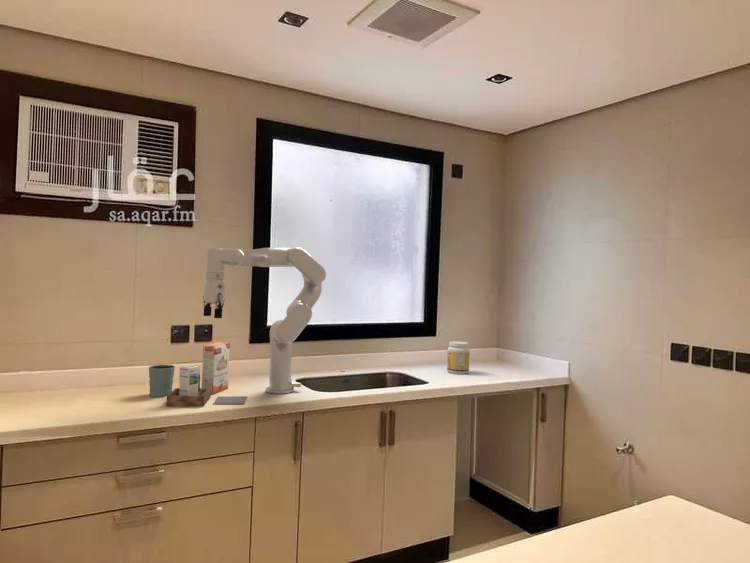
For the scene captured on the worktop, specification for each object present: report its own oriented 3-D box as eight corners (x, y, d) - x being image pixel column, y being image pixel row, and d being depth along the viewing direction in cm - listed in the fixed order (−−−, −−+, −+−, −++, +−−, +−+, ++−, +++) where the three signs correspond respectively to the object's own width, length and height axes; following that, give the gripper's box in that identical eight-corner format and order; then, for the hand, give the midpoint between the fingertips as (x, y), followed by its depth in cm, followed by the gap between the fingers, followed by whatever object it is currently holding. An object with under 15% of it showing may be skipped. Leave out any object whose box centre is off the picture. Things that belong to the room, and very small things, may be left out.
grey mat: (247, 397, 219) (247, 396, 219) (244, 404, 207) (244, 403, 207) (218, 397, 217) (218, 396, 217) (213, 404, 205) (213, 403, 205)
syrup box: (188, 404, 204) (189, 367, 204) (178, 402, 207) (179, 366, 207) (200, 401, 209) (200, 365, 209) (190, 399, 212) (191, 364, 212)
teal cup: (142, 396, 216) (143, 367, 215) (160, 391, 225) (161, 363, 225) (162, 398, 212) (162, 369, 212) (179, 393, 222) (180, 365, 221)
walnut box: (210, 397, 216) (210, 388, 216) (203, 406, 202) (204, 396, 202) (175, 397, 214) (175, 388, 214) (166, 406, 200) (166, 396, 200)
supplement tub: (444, 370, 295) (445, 340, 295) (465, 370, 297) (466, 341, 296) (449, 374, 283) (450, 343, 283) (471, 374, 284) (472, 344, 284)
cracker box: (213, 395, 221) (215, 346, 221) (200, 394, 222) (202, 345, 222) (229, 388, 235) (230, 342, 234) (217, 387, 236) (218, 341, 236)
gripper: (233, 278, 217) (230, 318, 217) (213, 276, 229) (211, 315, 229) (216, 277, 212) (213, 319, 212) (197, 275, 224) (195, 315, 224)
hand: (212, 317), depth 220 cm, fingers open, 9 cm apart
